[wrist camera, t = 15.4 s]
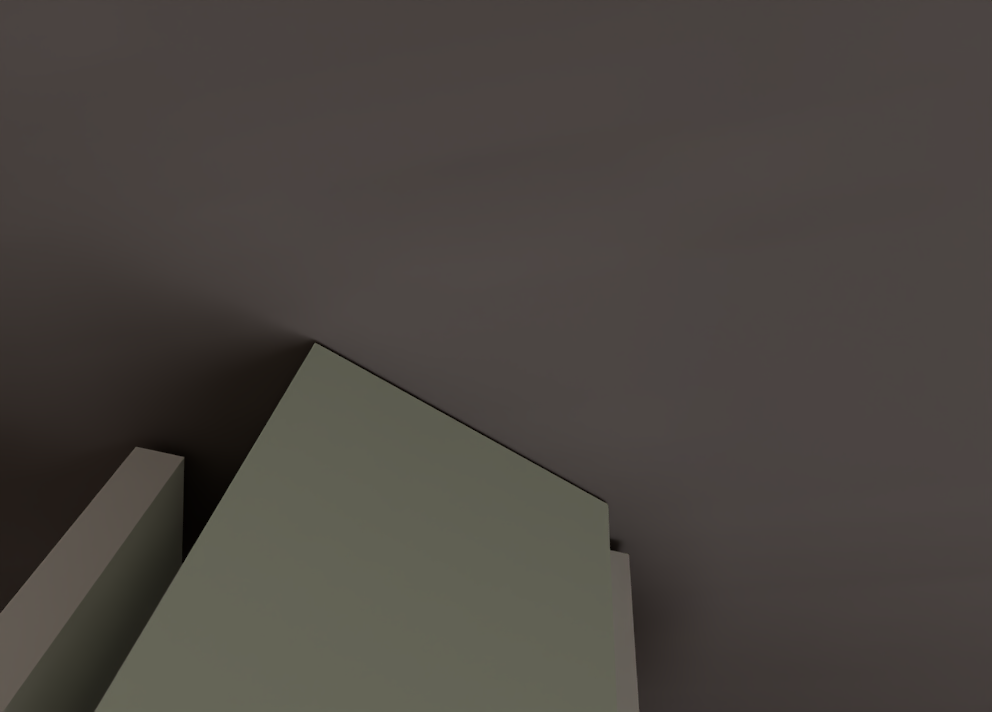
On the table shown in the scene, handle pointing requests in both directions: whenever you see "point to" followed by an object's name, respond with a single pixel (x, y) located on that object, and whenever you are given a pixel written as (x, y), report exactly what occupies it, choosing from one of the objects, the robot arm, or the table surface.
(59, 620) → the robot arm
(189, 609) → the tall sage green block
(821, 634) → the table surface
